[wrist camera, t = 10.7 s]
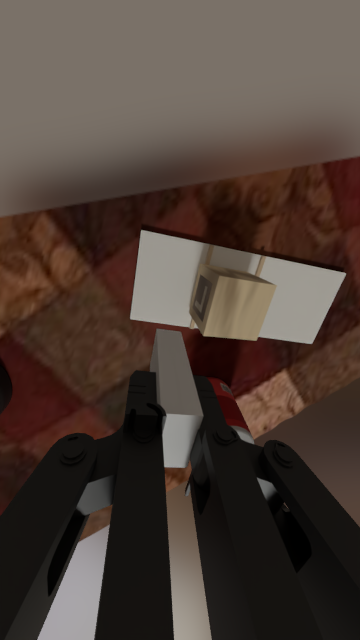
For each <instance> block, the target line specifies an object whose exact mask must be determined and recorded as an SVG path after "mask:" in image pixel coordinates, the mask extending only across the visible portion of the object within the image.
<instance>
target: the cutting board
mask: <svg viewBox="0 0 360 640" xmlns="http://www.w3.org/2000/svg"><path fill="white" fill-rule="evenodd" d="M200 263H201V264H206V265H212V266H217V267H223V268H228V269H234V270H240V271H245V272H249V273H251V274H253V275H255V276H257V277H260V278H262V279H264V280H266V281H268V282H271V283H273V284H275V285H277V287H276V290H275V292H274V295H273V298H272V300H271V303H270V306H269V308H268V311H267V314H266V316H265V319H264V322H263V324H262V327H261V330H260V332H259V335H258V337H265V338H272V339H279V340H287V341H294V342H301V343H308V344H312V343H313V341H314V339H315V337H316V335H317V333H318V331H319V328H320V326H321V324H322V322H323V320H324V318H325V316H326V314H327V312H328V310H329V308H330V306H331V304H332V302H333V300H334V298H335V295H336V293H337V291H338V289H339V287H340V285H341V283H342V281H343V279H344V277H345V275H346V273H343V272H338V271H334V270H329V269H324V268H319V267H315V266H310V265H305V264H301V263H296V262H291V261H286V260H282V259H277V258H272V257H267V256H263V255H258V254H253V253H249V252H244V251H239V250H234V249H230V248H225V247H220V246H215V245H211V244H206V243H201V242H196V241H192V240H187V239H182V238H178V237H173V236H168V235H163V234H159V233H154V232H149V231H144V230H141V236H140V244H139V252H138V260H137V268H136V276H135V284H134V291H133V299H132V307H131V315H130V319H133V320H140V321H148V322H155V323H162V324H170V325H177V326H184V327H190V329H194V328H198V327H197V325H196V323H195V322H194V320H193V319H192V317H191V315H190V314H189V310H190V305H191V301H192V297H193V292H194V288H195V284H196V279H197V275H198V271H199V266H200Z"/></svg>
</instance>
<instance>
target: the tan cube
mask: <svg viewBox="0 0 360 640" xmlns="http://www.w3.org/2000/svg"><path fill="white" fill-rule="evenodd" d="M276 287H277V285H275V284H273V283H271V282H268V281H266V280H264V279H262V278H260V277H257V276H255V275H253V274H251V273H249V272H245V271H240V270H234V269H228V268H223V267H217V266H212V265H206V264H201V263H200V266H199V271H198V275H197V279H196V284H195V288H194V292H193V297H192V301H191V305H190V310H189V314H190V315H191V317H192V319H193V320H194V322H195V323H196V325H197V327H198V328H199V330H200V332H201V333H202V335H203V336H210V337H221V338H233V339H244V340H255V341H257V338H258V335H259V332H260V330H261V327H262V324H263V322H264V319H265V316H266V314H267V311H268V308H269V306H270V303H271V300H272V298H273V295H274V292H275V290H276Z"/></svg>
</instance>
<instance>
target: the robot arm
mask: <svg viewBox="0 0 360 640" xmlns="http://www.w3.org/2000/svg"><path fill="white" fill-rule="evenodd" d="M11 396H12V386H11V382H10V379H9V377H8V375H7V373H6V372H5V370H4V369H3V368H2V367H1V366H0V414H1V413H2V412H3V411H4V409H5V408H6V407H7V405H8V404H9V402H10V400H11ZM189 460H190V461H191V467H192V471H191V474H190V477H189V480H188V483H187V486H186V490H185V496H188V495H189V492H190V490H191V497H192V504H193V511H194V518H195V525H196V532H197V539H198V546H199V553H200V560H201V566H202V574H203V581H204V588H205V595H206V602H207V609H208V616H209V622H210V630H211V636H212V640H360V527H359V526H358V525H357V524H356V522H355V521H354V520H353V519H352V518H351V517H350V515H349V514H348V513H347V512H346V511H345V510H344V508H343V507H342V506H341V505H340V504H339V502H338V501H337V500H336V499H335V498H334V497H333V496H332V494H331V493H330V492H329V491H328V489H327V488H326V487H325V486H324V485H323V484H322V482H321V481H320V480H319V479H318V478H317V477H316V475H315V474H314V473H313V472H312V471H311V469H310V468H309V467H308V466H307V465H306V464H305V462H304V461H303V460H302V459H301V458H300V456H299V455H298V454H297V453H296V452H295V451H294V450H293V449H292V448H291V447H289V446H288V445H286V444H284V443H283V442H280V441H277V440H269V441H267V442H266V443H265V445H264V447H260V446H257V445H255V444H252V443H249V442H246V441H244V440H242V439H241V438H240V436H239V435H238V433H237V431H236V430H234V429H233V428H232V427H231V426H229V425H227V423H226V420H225V417H224V415H223V412H222V409H221V407H220V404H219V401H218V399H217V396H216V393H215V391H214V388H213V385H212V383H211V382H210V381H209V380H208V379H207V378H206V376H197V375H192V372H191V368H190V364H189V360H188V357H187V353H186V349H185V346H184V342H183V338H182V335H181V332H178V331H170V330H163V329H157V330H156V336H155V341H154V347H153V352H152V358H151V364H150V372H147V371H137V370H136V371H135V372H134V373H133V374H132V375H131V377H130V383H129V390H128V397H127V404H126V411H125V418H124V423H123V425H122V426H121V428H120V429H119V430H118V431H117V432H115V433H114V434H112V435H110V436H107V437H105V438H101V439H97V440H94V439H93V437H91V436H89V435H87V434H85V433H74V434H70V435H67V436H65V437H63V438H61V439H59V440H58V441H57V442H56V443H55V444H54V445H53V446H52V447H51V448H50V450H49V451H48V452H47V454H46V455H45V456H44V458H43V459H42V460H41V462H40V463H39V465H38V466H37V467H36V469H35V470H34V471H33V473H32V474H31V475H30V477H29V478H28V479H27V481H26V482H25V484H24V485H23V486H22V488H21V489H20V490H19V492H18V493H17V494H16V496H15V497H14V498H13V500H12V501H11V503H10V504H9V505H8V507H7V508H6V509H5V511H4V512H3V513H2V515H1V516H0V640H37V639H38V636H39V634H40V631H41V629H42V627H43V624H44V622H45V620H46V617H47V615H48V612H49V610H50V608H51V605H52V603H53V600H54V598H55V596H56V593H57V591H58V589H59V586H60V584H61V581H62V579H63V577H64V574H65V572H66V570H67V567H68V565H69V563H70V560H71V558H72V555H73V553H74V550H75V548H76V546H77V544H78V541H79V539H80V536H81V534H82V532H83V529H84V527H85V525H86V522H87V520H88V517H89V515H90V513H92V512H95V511H97V510H100V509H102V508H105V507H107V506H110V505H112V504H113V505H112V513H111V520H110V528H109V535H108V542H107V549H106V557H105V564H104V573H103V579H102V587H101V594H100V601H99V609H98V616H97V623H96V631H95V638H94V640H174V633H173V632H174V631H173V614H172V598H171V597H172V596H171V578H170V560H169V544H168V543H169V542H168V524H167V507H166V488H165V470H164V467H187V466H188V463H189ZM284 502H285V504H286V505H287V507H288V508H289V509H288V508H287V507H286V506H285V505H284Z"/></svg>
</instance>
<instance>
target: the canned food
mask: <svg viewBox="0 0 360 640" xmlns="http://www.w3.org/2000/svg"><path fill="white" fill-rule="evenodd" d="M206 378H207V379H208V380H209V381H210V382H211V383H212V385H213V388H214V391H215V393H216V396H217V399H218V401H219V404H220V407H221V409H222V412H223V415H224V417H225V420H226V423H227V425H229V426H231V427H232V428H233V429H234V430H236V431H237V433H238V435H239V436H240V438H241V439H242V440H244V441H246V442H249V443H252V444H254V441H253V437H252V435H251V433H250V431H249V428H248V426H247V424H246V422H245V420H244V418H243V416H242V413H241V411H240V409H239V407H238V405H237V403H236V401H235V399H234V397H233V395H232V392H231V390H230V388H229V387H228V385H227V384H226V383H225V382H224V381H222V380H221V379H219V378H215V377H206Z"/></svg>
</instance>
